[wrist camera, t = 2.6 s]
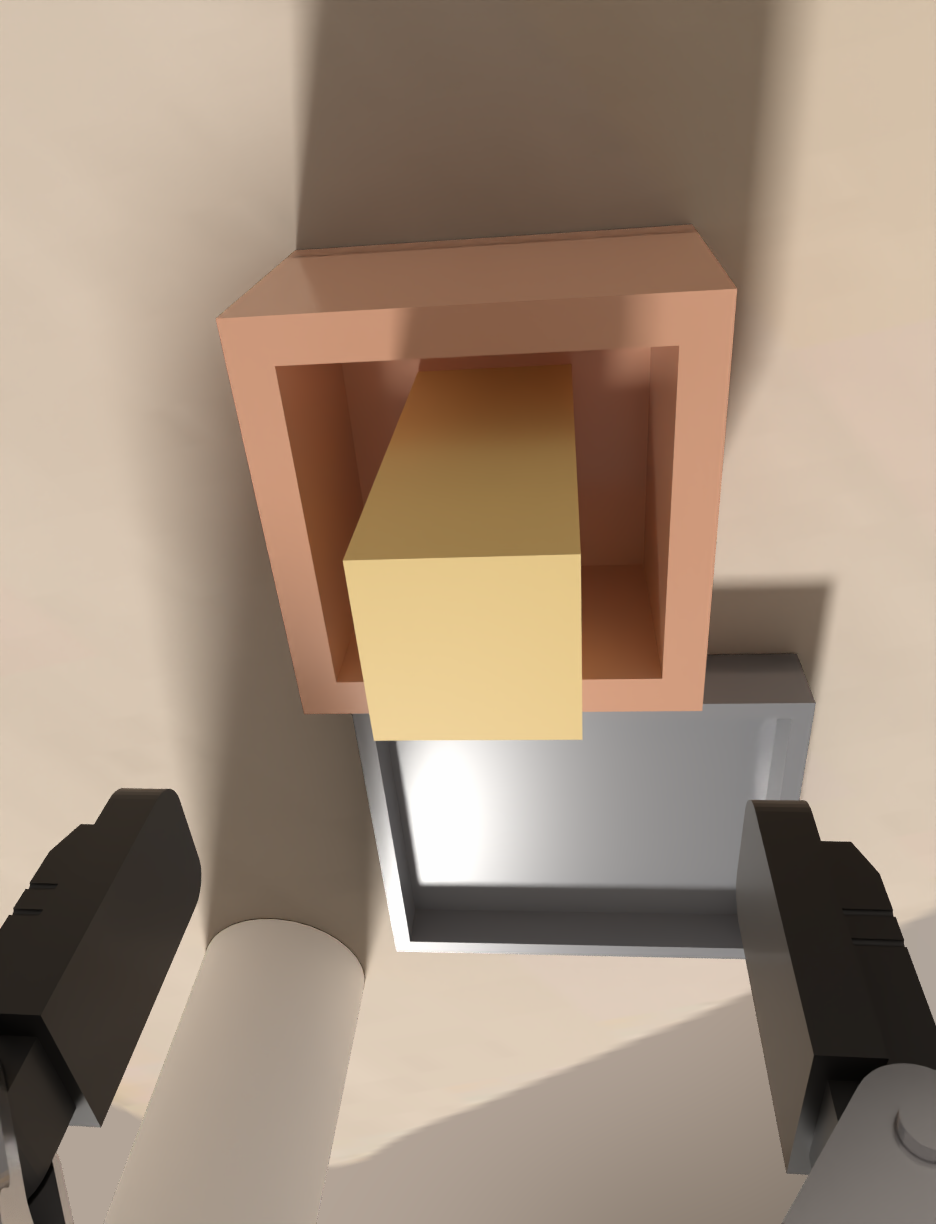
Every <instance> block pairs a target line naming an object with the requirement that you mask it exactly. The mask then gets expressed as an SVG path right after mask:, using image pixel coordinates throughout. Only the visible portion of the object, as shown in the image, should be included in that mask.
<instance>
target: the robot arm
mask: <svg viewBox="0 0 936 1224" xmlns="http://www.w3.org/2000/svg"><path fill="white" fill-rule="evenodd" d="M200 887H201V865H200V860H199V857H198V854H197V851H196V848H195V845H194V842H193V839H192V836H191V833H190V830H189V827H188V824H187V821H186V818H185V815H184V812H183V809H182V806H181V803H180V800H179V797H178V795H177V794H176V792H175V791H174V790H172V789H133V788H121V789H119V790H117V791H116V792H115V793H114V794H113V795H112V796H111V798H110V799H109V801H108V802H107V804H106V806H105V807H104V809H103V811H102V812H101V814H100V816H99V817H98V819H97V821H96V822H95V824H94V825H90V824H80V825H79V826H78V827H77V828H76V829H75V830H74V831H72V832H71V833H70V834H69V835H68V836H67V837H66V838H64V839H63V840H62V841H61V842H60V843H59V844H58V845H56V846H55V847H54V848H53V849H52V850H51V851H50V852H49V853H48V855H47V856H46V858H45V859H44V861H43V863H42V864H41V866H40V867H39V869H38V870H37V872H36V874H35V875H34V877H33V878H32V880H31V881H30V887H29V889H25V891H24V892H23V894H22V896H21V897H20V899H19V900H18V902H17V903H16V905H15V907H14V908H13V909H14V912H13V915H9V916H8V918H7V919H6V921H5V922H4V924H3V925H2V927H1V929H0V1224H74V1222H73V1216H72V1212H71V1207H70V1203H69V1198H68V1193H67V1189H66V1185H65V1180H64V1175H63V1170H62V1166H61V1162H60V1159H59V1156H58V1154H57V1153H56V1151H57V1149H58V1147H59V1145H60V1142H61V1140H62V1138H63V1136H64V1134H65V1132H66V1129H67V1127H68V1125H70V1126H86V1127H101V1126H102V1124H103V1121H104V1119H105V1117H106V1114H107V1112H108V1110H109V1107H110V1105H111V1103H112V1100H113V1098H114V1096H115V1093H116V1091H117V1089H118V1086H119V1084H120V1082H121V1079H122V1077H123V1075H124V1072H125V1070H126V1068H127V1065H128V1063H129V1061H130V1058H131V1056H132V1054H133V1051H134V1049H135V1047H136V1044H137V1042H138V1040H139V1037H140V1035H141V1033H142V1030H143V1028H144V1026H145V1023H146V1021H147V1019H148V1016H149V1014H150V1012H151V1009H152V1007H153V1005H154V1002H155V1000H156V998H157V995H158V993H159V991H160V988H161V986H162V984H163V982H164V979H165V977H166V975H167V972H168V970H169V968H170V965H171V963H172V961H173V958H174V956H175V954H176V951H177V949H178V947H179V944H180V942H181V940H182V937H183V935H184V933H185V930H186V928H187V926H188V923H189V921H190V919H191V916H192V914H193V912H194V909H195V907H196V904H197V901H198V898H199V893H200ZM736 902H737V914H738V922H739V927H740V933H741V938H742V943H743V948H744V954H745V959H746V964H747V969H748V975H749V980H750V985H751V990H752V996H753V1000H754V1006H755V1011H756V1016H757V1022H758V1027H759V1032H760V1037H761V1043H762V1047H763V1053H764V1058H765V1064H766V1068H767V1073H768V1079H769V1085H770V1090H771V1095H772V1100H773V1105H774V1111H775V1116H776V1121H777V1126H778V1131H779V1137H780V1142H781V1147H782V1153H783V1157H784V1163H785V1167H786V1173H789V1174H805V1175H808V1177H807V1179H806V1181H805V1182H804V1184H803V1186H802V1188H801V1189H800V1191H799V1193H798V1195H797V1197H796V1199H795V1200H794V1202H793V1204H792V1206H791V1207H790V1209H789V1211H788V1213H787V1215H786V1216H785V1218H784V1220H783V1222H782V1224H936V1025H935V1022H934V1019H933V1017H932V1014H931V1012H930V1009H929V1006H928V1003H927V1001H926V998H925V995H924V993H923V990H922V987H921V984H920V982H919V979H918V976H917V974H916V971H915V968H914V965H913V963H912V960H911V958H910V955H909V952H908V949H907V947H904V938H903V936H902V933H901V930H900V928H899V925H898V922H897V920H896V917H893V909H892V906H891V903H890V901H889V898H888V895H887V893H886V890H885V887H884V884H883V882H882V879H881V876H880V874H879V873H878V871H877V870H876V869H875V868H874V867H873V866H872V865H871V864H870V862H869V861H868V860H867V859H866V858H865V857H864V856H863V855H862V854H861V852H860V851H859V850H858V849H857V848H856V847H855V846H854V845H853V843H852V842H833V841H821V840H820V836H819V833H818V830H817V827H816V824H815V820H814V817H813V814H812V811H811V808H810V806H809V804H808V803H807V802H806V801H804V800H748V801H747V804H746V808H745V815H744V823H743V830H742V838H741V846H740V854H739V861H738V869H737V878H736Z"/></svg>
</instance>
